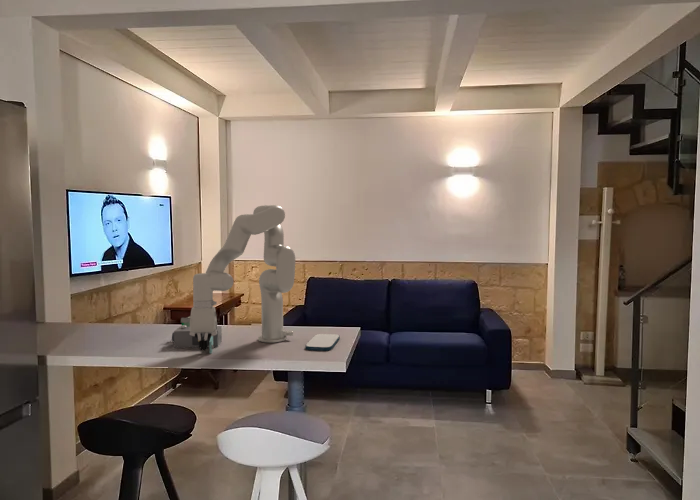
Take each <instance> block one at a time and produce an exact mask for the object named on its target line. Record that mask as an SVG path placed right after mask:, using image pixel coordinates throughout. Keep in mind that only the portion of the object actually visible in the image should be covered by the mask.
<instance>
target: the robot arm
mask: <svg viewBox="0 0 700 500" xmlns="http://www.w3.org/2000/svg"><path fill="white" fill-rule="evenodd" d="M285 218H286V212H285V209H284V208H283V207H281V206H280V205H278V204H277V205H276V204H275V205H274V204H273V205H271V204H270V205H266V204H264V205H259V206H256V207H255V208H254V209H253V213H252V214H251V213H250V214H247V213H246V214H245V213H244V214H240V215H238V216H236V218H235V219H234V220H233V221H234V222H233V224H232V226H231V229H230V231H229V233H228V236H227V238H226V240H225V242H224V245H223V246H222V247H221V248H220V249H219V250H218V252H216V254H215V255H214V256H213V257H212V259H211V260H210V262H209V264H208V266H207V269H206V271H205V272H204V273H202V272H201V273H195V274H194V275H193V277H192V286H193V290H192V292H193V293H192V294H193V295H192V297H193V298H192V300H193V301H192V302H193V305H192V307H191V310H190V315H189V316H190V335H192V336H195V337H196V338H197V339H198V340H199V347H198V349H199V348H200V351H206V350H207V348H209V347H208V338H209V337H210V336H214V335H216V334H217V330H216V329H217V326H218V322H217V321H218V320H217V312H216V307H215V305H216V306H217V301H215V300H214V297H213V296H214V294H213V292H215V291H217V292H226V291H229V290H230V289H231V288H232V287H233V285H234V278H233V276H232V275H231V274H230V273H227V272H225V270H226V268H227V267H228V265H229V264H230V263H231V262H233V261H234V260H235V259H238V258H239V257H241V256H242V255H243V254H244V253H245V250H246V247H247V245H248V242H249V241H250V239H251V236H252V235H253V236H254V235H255V236H256V235H261V234H263V233H264V234H263V235H264V237H263V238H264V241H263V242H264V244H263V245H264V246H263V262H264V263H265V264H266V265H267V266H270V267H275V269H274V268H273V269H272V268H268V269H266V270H263V271H262V272H261V273H260V275H259V279H258V283H259V289H260V296H261V305H260V306H261V335H259V336H258V339H257V340H258V341H259V342H262V343H268V344H269V343H270V344H271V343H280V342H284V341H287V336H290V337H291V336H293V337H294V331H293V330H292V331H291V330H285V328H284V299H283V294H282V293H289V292H290V291H291V290H292V289H293V287H294V284H295V275H296V255H295V252H294V250H293V249H292V247H290V246H288V245H285V244H284V243H285V242H284V240H285V239H284V237H285V236H284V235H285V234H284V229H283V227H282V224H283V222H284V220H285ZM202 333H205V337H204V339H203V336H202Z"/></svg>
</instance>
